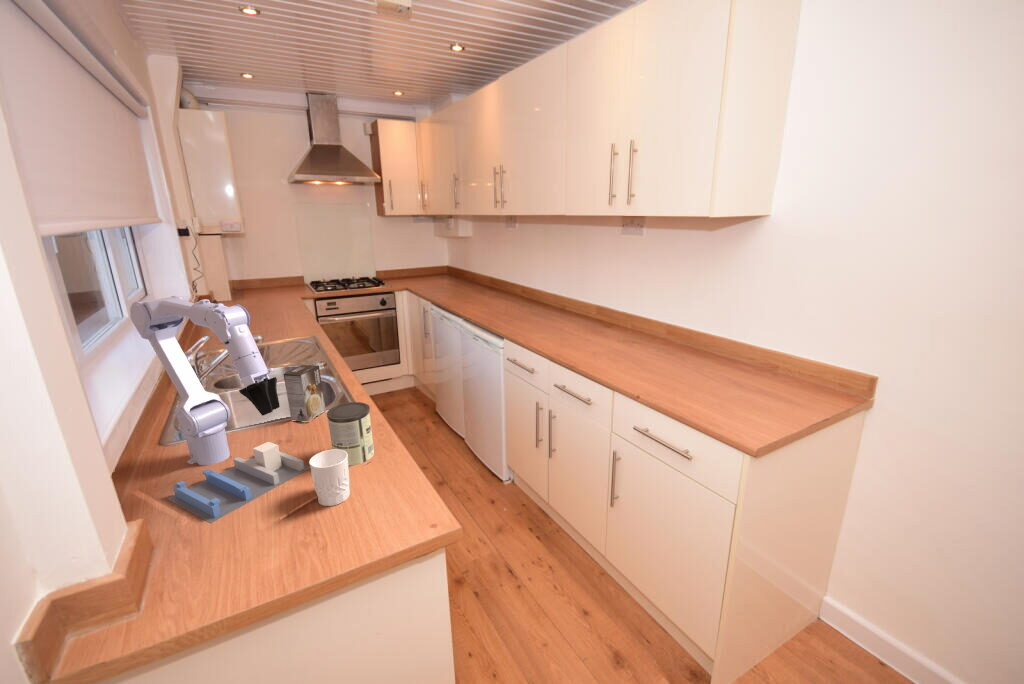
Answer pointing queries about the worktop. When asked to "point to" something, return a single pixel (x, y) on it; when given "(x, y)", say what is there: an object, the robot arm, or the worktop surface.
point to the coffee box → (304, 392)
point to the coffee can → (352, 431)
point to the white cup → (330, 476)
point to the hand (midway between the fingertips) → (271, 411)
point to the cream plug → (268, 456)
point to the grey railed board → (234, 486)
